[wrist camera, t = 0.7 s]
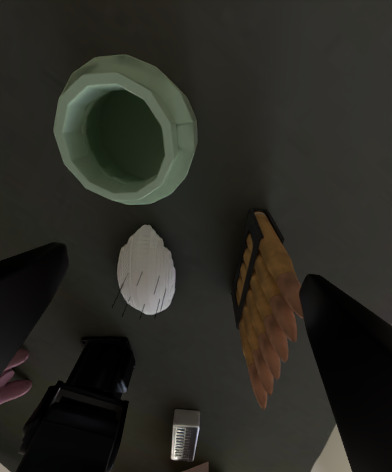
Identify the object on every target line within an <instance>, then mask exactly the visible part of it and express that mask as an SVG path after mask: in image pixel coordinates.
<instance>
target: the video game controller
mask: <svg viewBox="0 0 392 472" xmlns="http://www.w3.org/2000/svg"><path fill="white" fill-rule="evenodd" d="M28 356H29V352H28V351H27V350H25V349H19V350H18V351H17V353H16V354H15V356H14V357H13V359H12V360H11V362H10V363H9V364H8V366H7V367H6V369H5V370H4V372H3V373H2V375H1V376H0V404H2V403H4V402H7V401H10V400H12V399H15V398H17V397H20V396H22V395H24V394H25V393H26V392H28V391H29V389H30V388H31V386H32V382H31V381H30V380H26V379H25V380H16V381H12V382H8V381H9V380H10V379H11V378H12V377H13V376H14V373H15V372H14V371H13V370H12V369H11V368H12V367H15V366H18V365H19V364H21V363H23V362H24V361H25V360H26V359H27V358H28ZM7 382H8V383H7Z"/></svg>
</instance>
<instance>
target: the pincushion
mask: <svg viewBox="0 0 392 472" xmlns="http://www.w3.org/2000/svg"><path fill="white" fill-rule="evenodd" d="M163 245H164V242H163V239H162V238H160V237H159V235H156V232H155V230H154V229H152V227H151V225H143V226H142V227H141V228H139V229H138V230H137V231H136V233H134V234H133V236H130V238H129V240H128V244H127V245H124V247H122V248H121V250H120V255H119V260H118V266H117V278H118V283H119V288H120V290H119V291H122V292H121V294H122V295H123V297H124V299H125V300H126V301H127V305H128V304H130V306H131V307H132V306H133V307H134V308H135V309H137V310H140V311H141V312H143V313H145V314H150V315H153V314H156V313H158V312H161V311H162V310H165V309H167V307H169V305H170V304H171V300H172V298H173V295H174V292H175V278H176V277H175V268H174V267H173V260H172V258H171V252H170V251H169V250H168V249H167V248H165V246H163ZM119 293H120V292H119ZM118 295H119V294H118ZM117 297H118V296H117ZM116 299H117V298H116ZM115 301H116V300H115ZM114 303H115V302H114ZM113 305H114V304H113ZM127 305H126V307H127ZM112 307H113V306H112ZM125 309H126V308H125ZM124 312H125V310H124ZM124 312H123V314H124ZM141 315H142V313H141ZM122 316H123V315H122ZM155 317H156V315H155ZM140 318H141V316H140Z"/></svg>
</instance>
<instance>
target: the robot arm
mask: <svg viewBox="0 0 392 472" xmlns="http://www.w3.org/2000/svg"><path fill="white" fill-rule="evenodd" d="M69 265H70V260H69V256H68V251H67V247H66V245H65V244H63V243H55V242H52V243H49V244H46V245H44V246H41V247H38V248H35V249H32V250H30V251H27V252H24V253H21V254H18V255H16V256H13V257H10V258H7V259H4V260H2V261H0V376H1V375H2V373H3V372H4V370H5V369H6V367H7V366H8V364H9V363H10V362H11V360H12V359H13V357H14V356H15V354H16V353H17V351H18V350H19V348H20V347H21V345H22V344H23V342H24V341H25V339H26V338H27V336H28V335H29V333H30V332H31V330H32V329H33V327H34V326H35V324H36V323H37V322H38V320H39V319H40V317H41V316H42V314H43V313H44V311H45V310H46V308H47V307H48V305H49V303H50V302H51V300H52V298H53V297H54V295H55V293H56V291H57V289H58V287H59V285H60V283H61V282H62V280H63V278H64V276H65V274H66V272H67V270H68V268H69ZM299 298H300V303H301V307H302V312H303V317H304V322H305V326H306V331H307V335H308V338H309V341H310V344H311V347H312V350H313V354H314V357H315V360H316V363H317V366H318V369H319V372H320V375H321V378H322V381H323V384H324V387H325V390H326V393H327V396H328V399H329V402H330V405H331V408H332V411H333V415H334V418H335V421H336V424H337V427H338V430H339V433H340V436H341V439H342V442H343V445H344V448H345V451H346V454H347V457H348V460H349V463H350V466H351V469H352V472H392V326H391V325H390V324H388V323H387V322H386V321H384V320H383V319H381V318H380V317H378V316H377V315H376V314H374V313H373V312H371V311H370V310H369V309H367V308H366V307H364V306H363V305H361V304H360V303H359V302H357V301H356V300H354V299H353V298H352V297H350V296H349V295H347V294H346V293H344V292H343V291H342V290H340V289H339V288H337V287H336V286H335V285H333V284H332V283H330V282H329V281H327V280H326V279H325V278H323V277H322V276H320V275H315V274H308V275H307V276H306V277H305V279H304V282H303V284H302V286H301V288H300V291H299ZM80 343H81V345H82V347H83V351H82V353H81V355H80V357H79V359H78V361H77V363H76V364H75V366H74V368H73V370H72V372H71V374H70V376H69V378H68V380H67V381H66V383H63V381H60V380H58V382H57V384H56V385H55V386H50V387H49V388H48V390H47V392H46V394H45V395H44V397H43V399H42V400H41V402H40V403H39V405H38V406H37V408H36V409H35V411H34V412H33V414H32V415H31V417H30V418H29V419H28V421H27V422H26V424H25V426H24V427H23V429H22V432H23V437H24V438H23V440H22V445H21V448H20V450H19V454H25V455H24V457H23V459H22V461H21V463H20V464H19V466H18V468H17V471H16V472H110V470H111V468H112V466H113V464H114V461H115V458H116V456H117V453H118V449H119V446H120V442H121V438H122V433H123V428H124V423H125V418H126V413H127V408H128V403H129V401H126V400H124V401H123V400H120V399H121V396H122V393H125V392H126V391H127V389H128V386H129V382H130V379H131V375H132V372H133V369H134V368H135V359H134V356H133V352H132V351H131V348H130V345H129V342H128V339H127V338H125V337H83V338H82V339H81V341H80Z"/></svg>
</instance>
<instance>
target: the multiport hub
mask: <svg viewBox="0 0 392 472" xmlns="http://www.w3.org/2000/svg"><path fill="white" fill-rule="evenodd" d="M199 423H200V412H199V411H194V410H183V409H175V411H174V420H173V432H172V449H171V459H172V460H181V461H193V460H194V455H195V449H196V444H197V438H198V433H199Z"/></svg>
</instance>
